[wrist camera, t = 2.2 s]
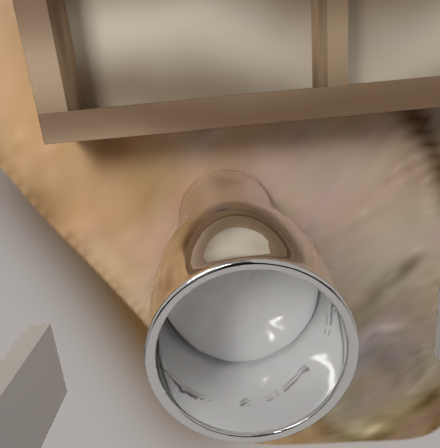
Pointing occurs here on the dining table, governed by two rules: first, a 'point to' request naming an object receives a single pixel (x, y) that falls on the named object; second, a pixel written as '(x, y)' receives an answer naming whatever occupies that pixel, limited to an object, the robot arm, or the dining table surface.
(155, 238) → the dining table surface
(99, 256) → the dining table surface
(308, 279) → the metal cup
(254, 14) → the tray
